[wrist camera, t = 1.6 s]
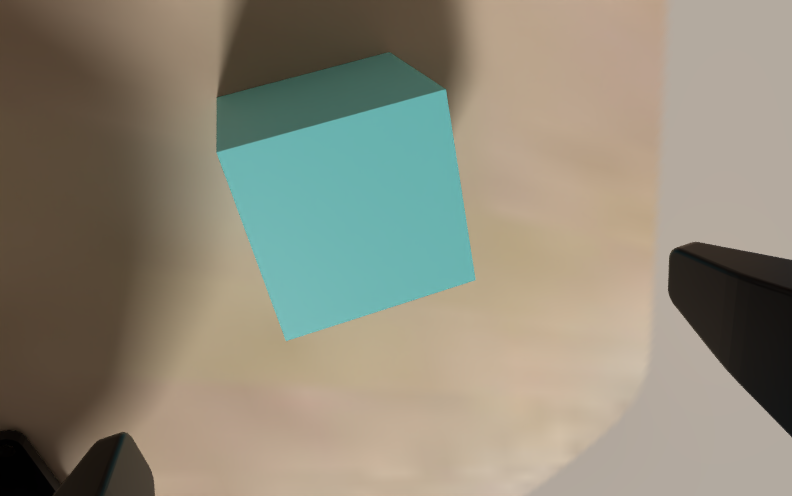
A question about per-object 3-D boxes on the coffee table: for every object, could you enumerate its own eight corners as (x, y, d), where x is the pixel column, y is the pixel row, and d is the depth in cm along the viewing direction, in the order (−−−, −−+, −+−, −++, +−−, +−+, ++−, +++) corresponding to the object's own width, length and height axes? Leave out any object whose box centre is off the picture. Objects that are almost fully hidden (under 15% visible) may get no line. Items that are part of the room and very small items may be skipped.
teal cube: (419, 205, 20) (475, 279, 15) (270, 250, 19) (285, 340, 15) (388, 51, 17) (445, 89, 13) (216, 96, 17) (216, 152, 12)
